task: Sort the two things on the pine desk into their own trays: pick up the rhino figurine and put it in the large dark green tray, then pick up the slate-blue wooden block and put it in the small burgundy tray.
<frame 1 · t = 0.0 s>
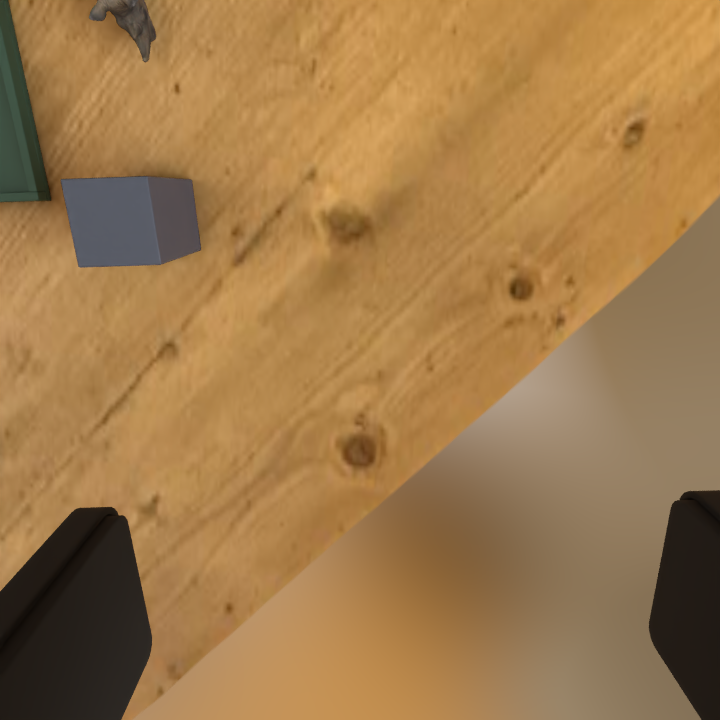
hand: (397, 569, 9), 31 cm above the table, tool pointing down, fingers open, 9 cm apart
block: (162, 216, 37), on the table
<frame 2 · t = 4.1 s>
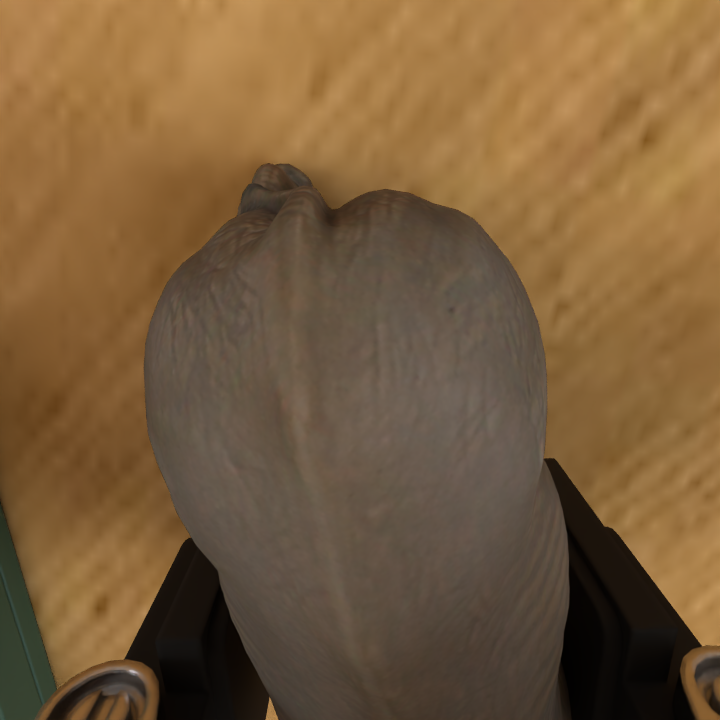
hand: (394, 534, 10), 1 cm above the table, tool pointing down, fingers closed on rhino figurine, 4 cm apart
rhino figurine: (400, 507, 10), on the table, touching gripper
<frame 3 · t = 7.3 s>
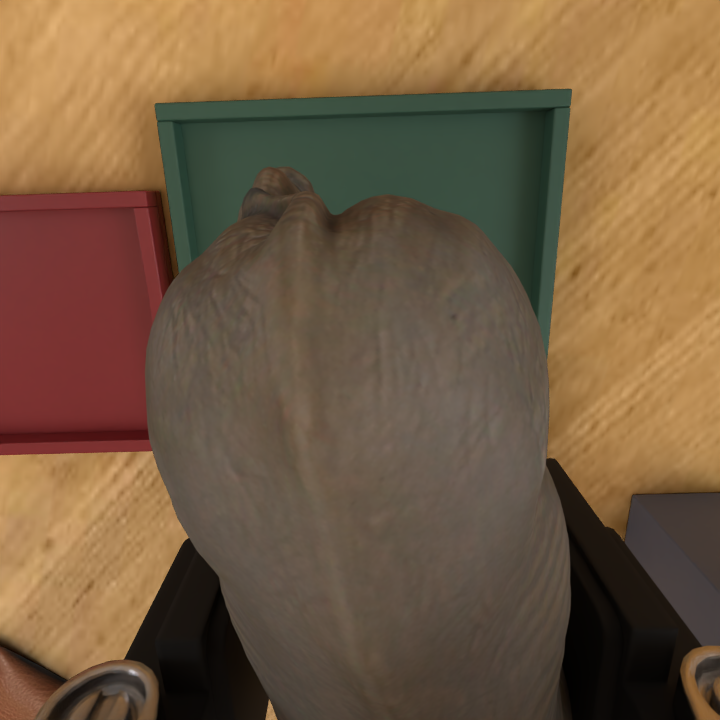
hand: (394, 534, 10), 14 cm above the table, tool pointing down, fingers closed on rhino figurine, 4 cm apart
rhino figurine: (400, 510, 10), point 13 cm above the table, touching gripper
green tray: (368, 338, 23), on the table
block: (673, 534, 26), on the table
burgundy tray: (55, 326, 23), on the table
when the fingers open (1 cm above the table, at t = 10.4 s): rhino figurine stays where it is, resting on green tray.
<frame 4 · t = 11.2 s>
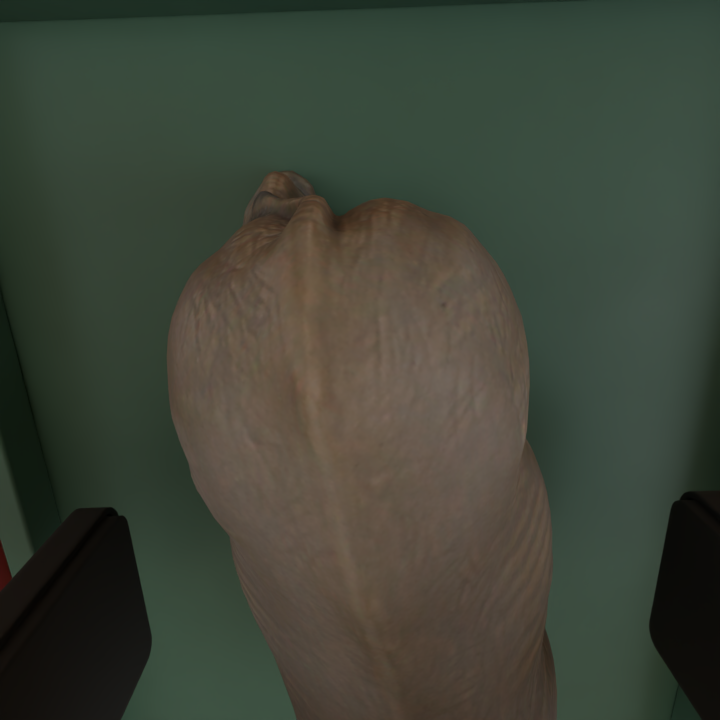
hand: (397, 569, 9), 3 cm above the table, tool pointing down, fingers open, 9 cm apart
rhino figurine: (397, 497, 11), resting on green tray
green tray: (386, 491, 11), on the table
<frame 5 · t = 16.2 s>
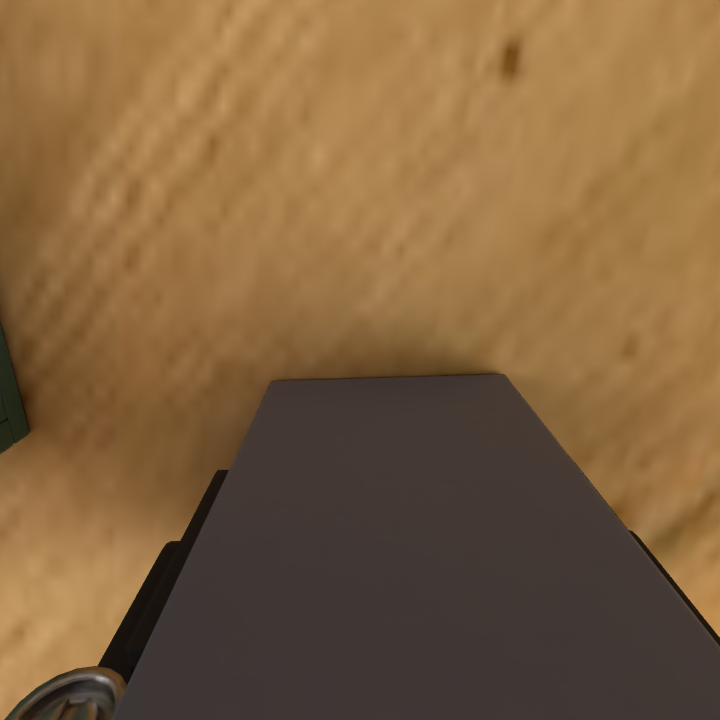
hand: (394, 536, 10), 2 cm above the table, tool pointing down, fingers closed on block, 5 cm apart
block: (389, 478, 11), on the table, touching gripper
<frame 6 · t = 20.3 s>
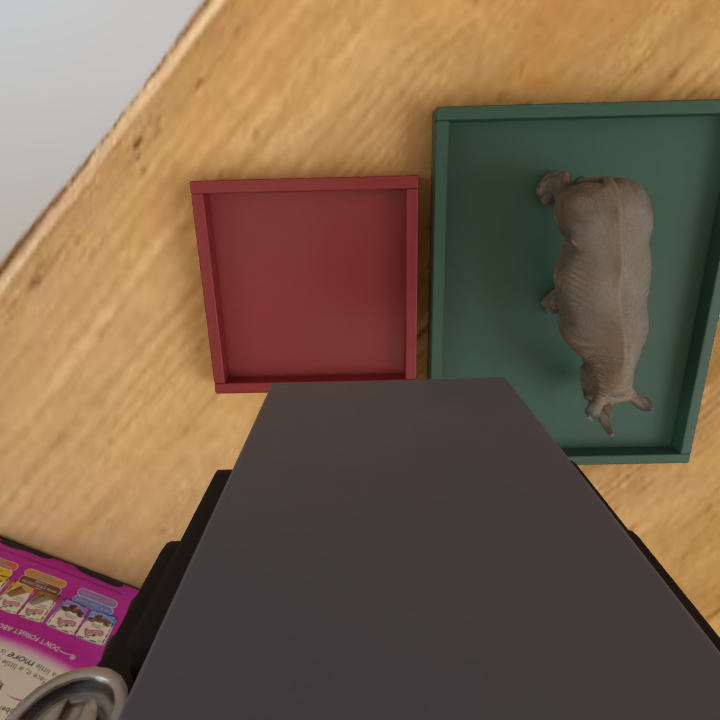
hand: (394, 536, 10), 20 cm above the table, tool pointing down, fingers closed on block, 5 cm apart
rhino figurine: (572, 299, 28), resting on green tray
candy bar box: (57, 583, 34), on the table
green tray: (566, 299, 28), on the table
block: (389, 481, 12), point 18 cm above the table, touching gripper
burgundy tray: (312, 287, 28), on the table
when the fingers open (3 cm above the table, at t = 24.7 s): block stays where it is, resting on burgundy tray.
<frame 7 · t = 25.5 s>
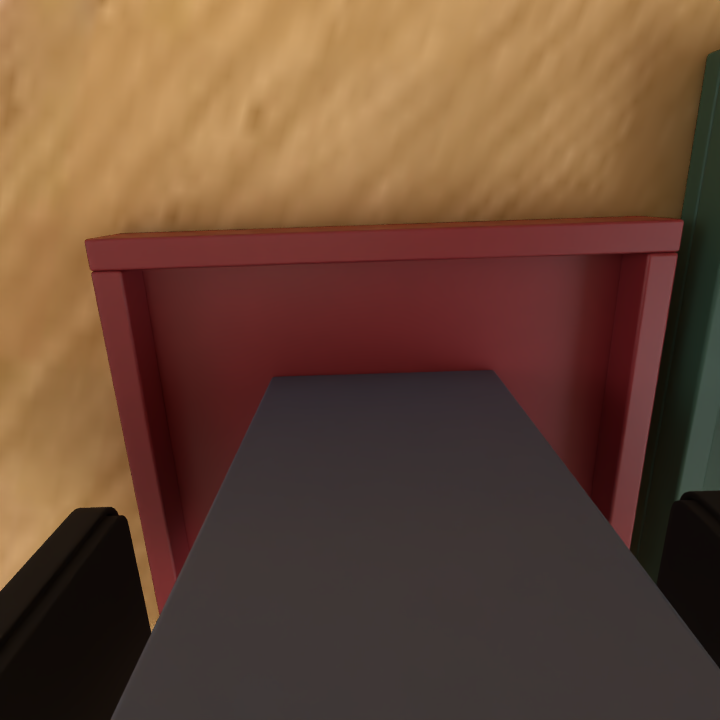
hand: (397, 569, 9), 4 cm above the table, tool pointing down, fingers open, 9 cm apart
block: (384, 470, 12), resting on burgundy tray
burgundy tray: (384, 456, 13), on the table
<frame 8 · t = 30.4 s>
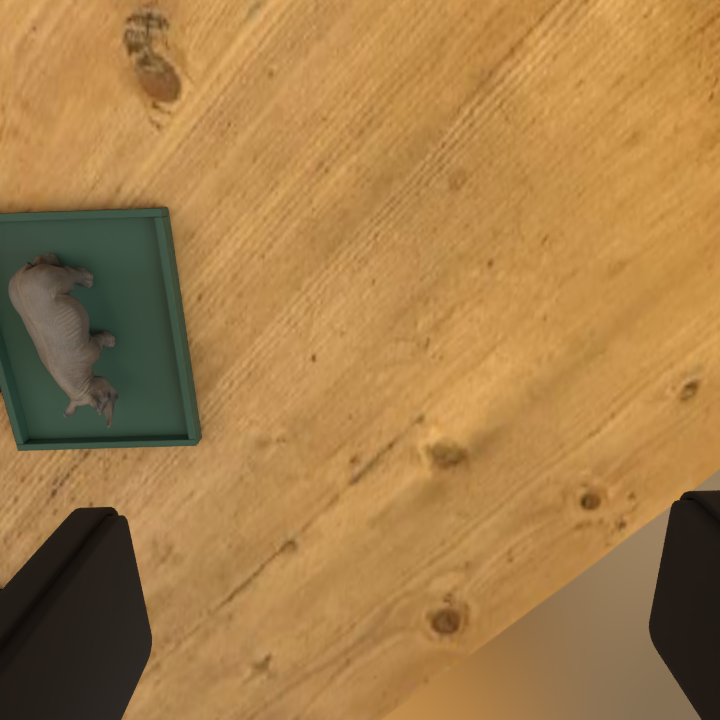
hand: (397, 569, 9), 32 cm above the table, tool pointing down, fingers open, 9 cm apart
rhino figurine: (93, 334, 41), resting on green tray
green tray: (93, 334, 41), on the table
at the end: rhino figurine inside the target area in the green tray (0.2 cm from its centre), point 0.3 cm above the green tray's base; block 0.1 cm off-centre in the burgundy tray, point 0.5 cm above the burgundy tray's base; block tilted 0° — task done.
